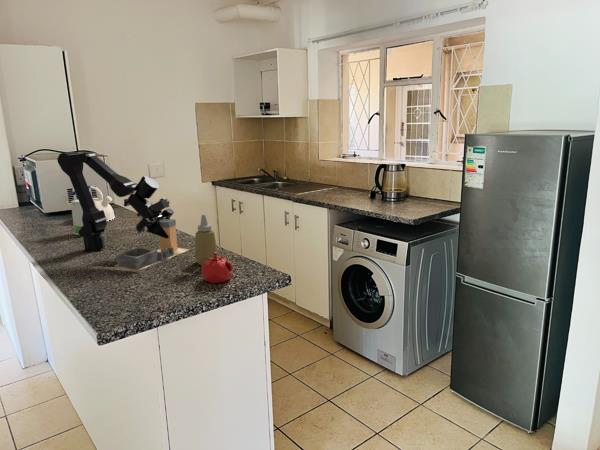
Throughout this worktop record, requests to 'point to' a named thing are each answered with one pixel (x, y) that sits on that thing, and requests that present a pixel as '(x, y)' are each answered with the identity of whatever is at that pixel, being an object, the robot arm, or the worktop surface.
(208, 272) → the pomegranate
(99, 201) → the kettle
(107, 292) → the worktop surface
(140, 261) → the board
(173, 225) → the plug
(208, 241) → the squeeze bottle
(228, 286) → the worktop surface
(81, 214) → the skincare box
